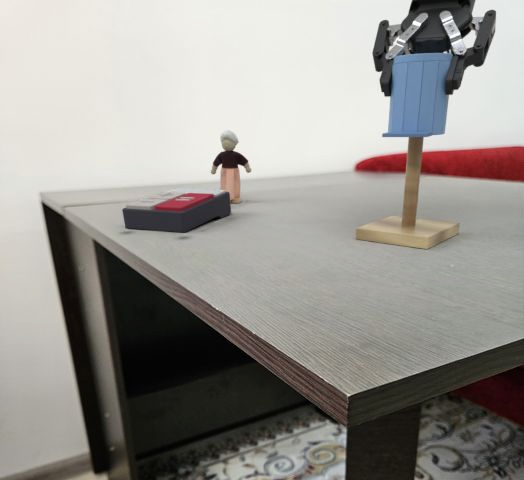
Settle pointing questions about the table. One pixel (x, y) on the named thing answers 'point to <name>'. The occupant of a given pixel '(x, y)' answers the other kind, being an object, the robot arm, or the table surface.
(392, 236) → the hat stand
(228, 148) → the grandmother figurine
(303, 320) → the table surface
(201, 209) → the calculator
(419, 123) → the blue ribbed waste bin
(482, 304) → the table surface
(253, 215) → the table surface
